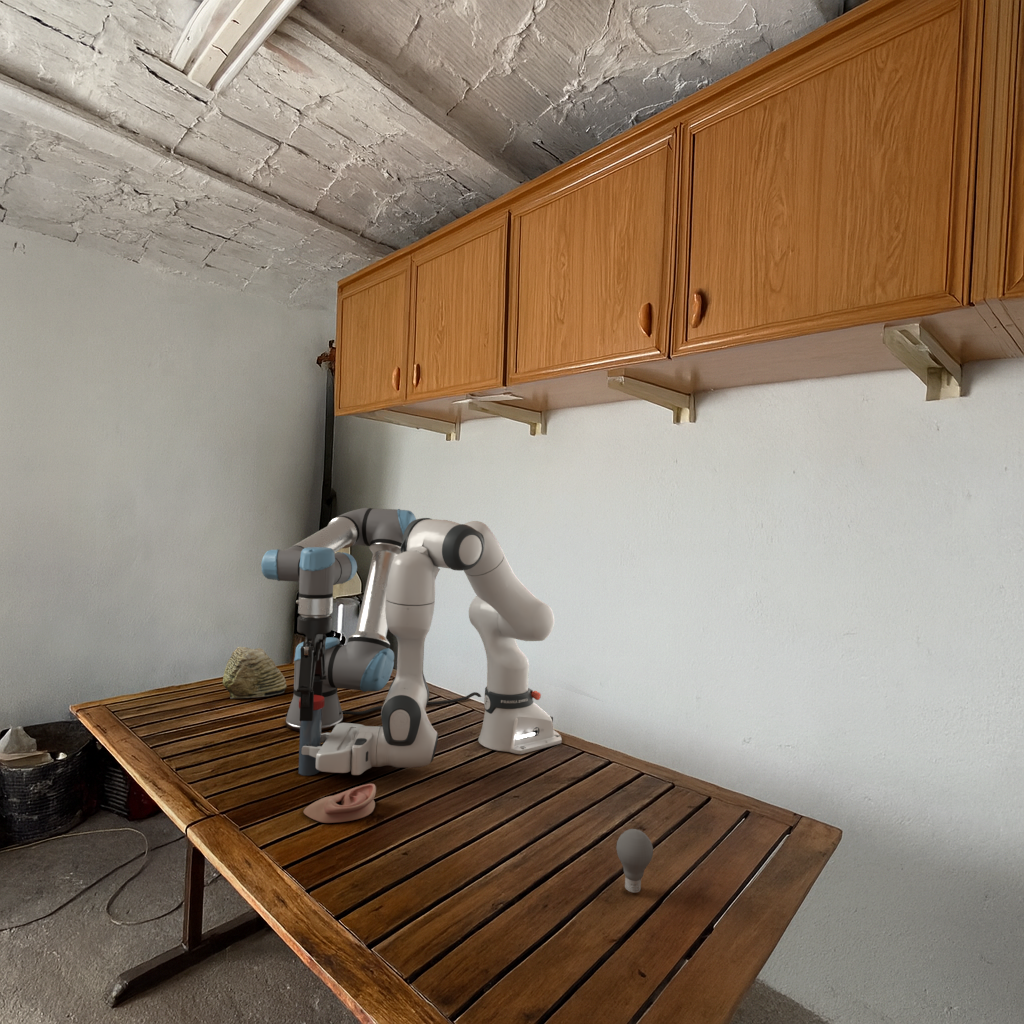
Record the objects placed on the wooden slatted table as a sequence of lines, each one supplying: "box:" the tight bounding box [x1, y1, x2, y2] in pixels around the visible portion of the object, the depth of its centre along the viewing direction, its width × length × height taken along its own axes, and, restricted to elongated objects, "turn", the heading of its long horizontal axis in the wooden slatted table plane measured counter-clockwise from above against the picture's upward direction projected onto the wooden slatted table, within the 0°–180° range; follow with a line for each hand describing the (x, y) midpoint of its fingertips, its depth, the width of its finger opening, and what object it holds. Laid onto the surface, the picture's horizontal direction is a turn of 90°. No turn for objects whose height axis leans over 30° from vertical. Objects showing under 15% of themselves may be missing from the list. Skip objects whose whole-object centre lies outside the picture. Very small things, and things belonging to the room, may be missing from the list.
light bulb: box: [615, 828, 654, 894], centre depth 106 cm, size 6×6×10 cm
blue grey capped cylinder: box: [297, 708, 322, 777], centre depth 146 cm, size 5×5×16 cm
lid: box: [299, 695, 325, 710], centre depth 145 cm, size 6×6×2 cm
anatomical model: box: [302, 783, 377, 824], centre depth 128 cm, size 13×4×12 cm
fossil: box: [222, 646, 288, 699], centre depth 198 cm, size 9×18×15 cm, turn 132°
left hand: (310, 714), depth 145 cm, fingers open, 8 cm apart
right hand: (306, 744), depth 146 cm, fingers closed on blue grey capped cylinder, 5 cm apart
